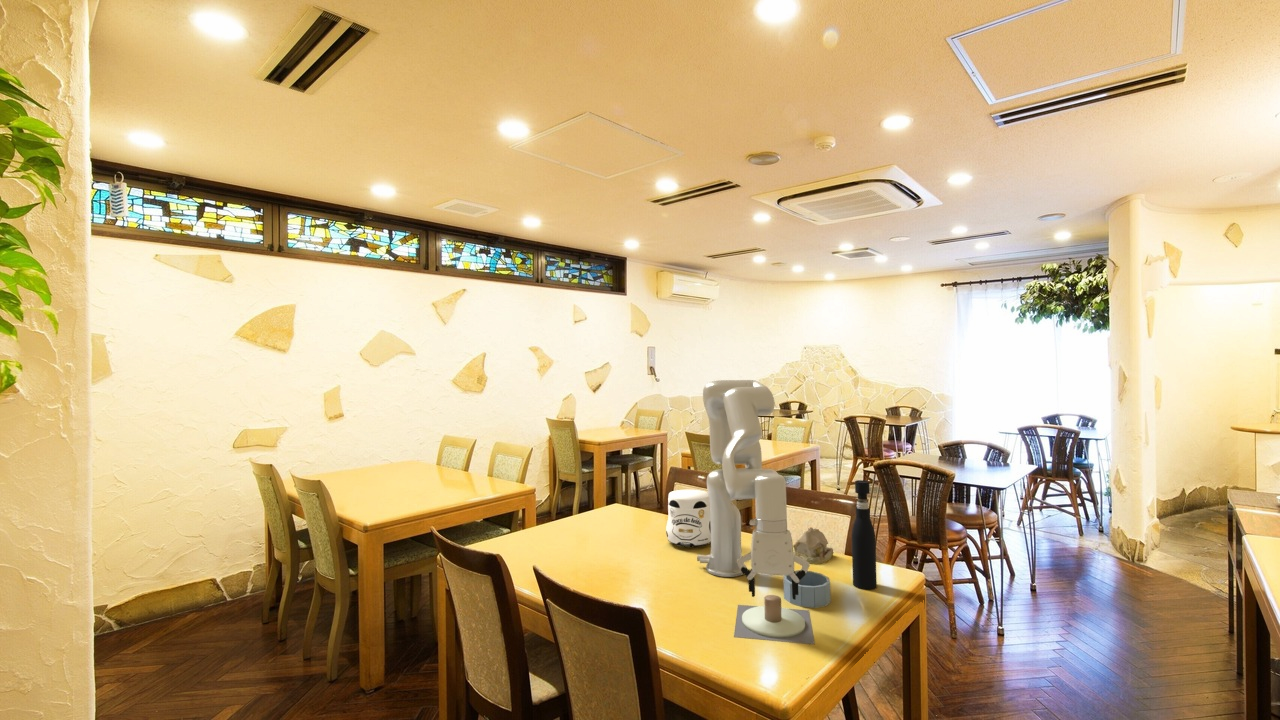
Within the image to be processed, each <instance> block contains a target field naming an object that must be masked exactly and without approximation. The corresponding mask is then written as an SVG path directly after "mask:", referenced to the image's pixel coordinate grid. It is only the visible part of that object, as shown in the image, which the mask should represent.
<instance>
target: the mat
mask: <svg viewBox="0 0 1280 720" xmlns="http://www.w3.org/2000/svg"><path fill="white" fill-rule="evenodd" d="M758 606H759V605H744V604H737V610H736V617H735V626H734V632H733V638H740V639H751V640H760V641H762V640H763V641H772V642H782V643H783V642H784V643H792V644H793V643H794V644H805V645H815V644H816V643H815V638H814V633H813V625H812V620H811V615H810V610H808V609H800V608H799V609H797V608H795V609H794V608H789V609H790V610H792V611H795V612H797V613H798V614H800V615H801V616H802V617H803V618H804V620H805V629H804V631H803V632H802V633H800V634H798V635H796V636H792V637H785V638H775V637H767V636H763V635H759V634H756V633H754V632H752V631H750V630H748V629H747V628H746V627H745V626H744V625H743V623H742V615H743V613H744V612H745V611H746V610H748V609H750V608H753V607H758Z"/></svg>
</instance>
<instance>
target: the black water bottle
mask: <svg viewBox="0 0 1280 720" xmlns="http://www.w3.org/2000/svg"><path fill="white" fill-rule="evenodd" d="M854 492H855V493H856V494H857V501H856V508H855V519H854V522H853V525H852V531H851V554H852V555H851V557H852V561H851V563H852V585H853V587H855V588H857V589H859V590H865V591H868V590H869V591H871V589H873V590H875V588H876V589H877V588H878V587H877V583H878V582H877V581H878V580H877V554H876V553H877V551H876V533H875V529H874V525H873V522H872V520H871V511H870V510H871V509H870V508H869V507H870V506H869V501H868V495H869V494H870V481H868V480H864V479H860V480H859V479H857V480H854Z"/></svg>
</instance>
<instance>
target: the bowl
mask: <svg viewBox="0 0 1280 720" xmlns="http://www.w3.org/2000/svg"><path fill="white" fill-rule="evenodd" d="M800 570H801V569H800ZM800 570H798V569H797V570H794V571H795V572H796V573H798V572H799V571H800ZM792 580H793V579H792V578H791V577H790V576H783V599H784V600H785V601H787V602H788V603H789V604H792V605H794V606H799V607H801V608H812V609H814V608H816V609H817V608H822V607H826V606H827V605H829V604H830V603H831V601H832V599H831V581H830V578H829V577H828V576H826V575H825V574H823V573H821V572H817V571H812V570H807V572H806V574H805V576H804V577H803V578H802V579H801V580H800V581H799V582H798V595H796V600H794V599H793V597H792Z"/></svg>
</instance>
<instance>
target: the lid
mask: <svg viewBox="0 0 1280 720" xmlns="http://www.w3.org/2000/svg"><path fill="white" fill-rule="evenodd" d="M763 601H764V603H763V604H764V605H760V606H759V605H757V606H758V607H753V608H750V609H748V610H746V611H745V612H744V613H743V615H742V623H743V625H744V626H745V627H746V628H747V629H748V630H750V631H752V632H754V633H756V634H759V635H763V636H767V637H775V638H785V637H792V636H796V635H798V634H800V633H802V632H803V631H804V629H805V620H804V618H803V617H802V616H801V615H800V614H798V613H797V612H795V611H792V610H790V609H791V608H786V607H783V606H782V598H781V596H778V595H776V594H775V595H774V594H768V595H765V596H764V597H763Z"/></svg>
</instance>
